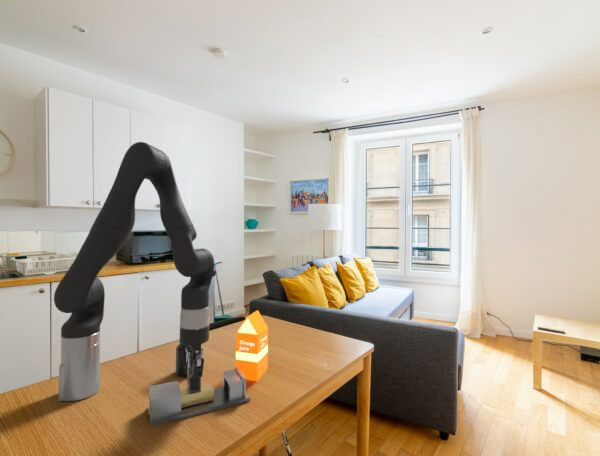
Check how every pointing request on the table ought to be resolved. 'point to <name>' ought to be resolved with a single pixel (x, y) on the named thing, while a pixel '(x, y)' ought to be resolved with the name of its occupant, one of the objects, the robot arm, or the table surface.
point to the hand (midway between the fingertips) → (193, 387)
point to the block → (192, 394)
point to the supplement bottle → (181, 361)
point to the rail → (169, 404)
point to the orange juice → (252, 347)
